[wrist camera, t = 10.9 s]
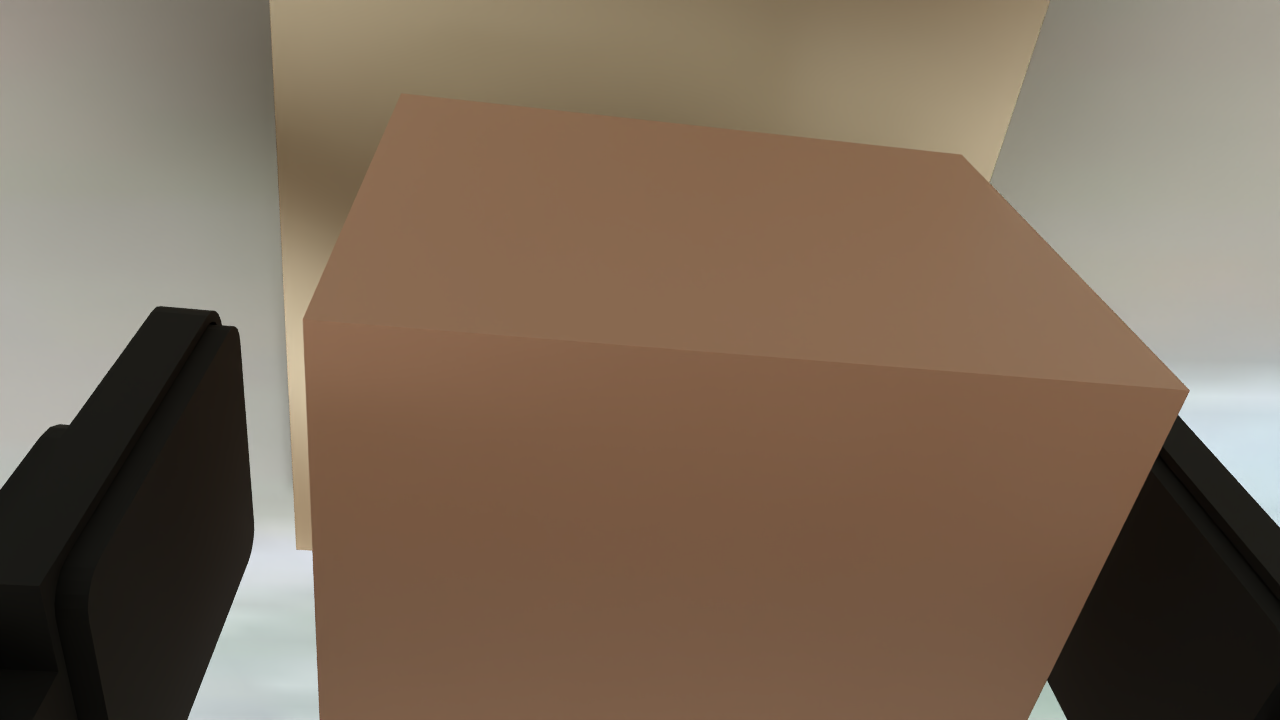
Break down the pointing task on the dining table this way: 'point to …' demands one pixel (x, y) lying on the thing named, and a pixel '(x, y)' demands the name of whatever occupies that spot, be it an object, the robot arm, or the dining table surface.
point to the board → (621, 91)
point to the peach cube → (703, 429)
